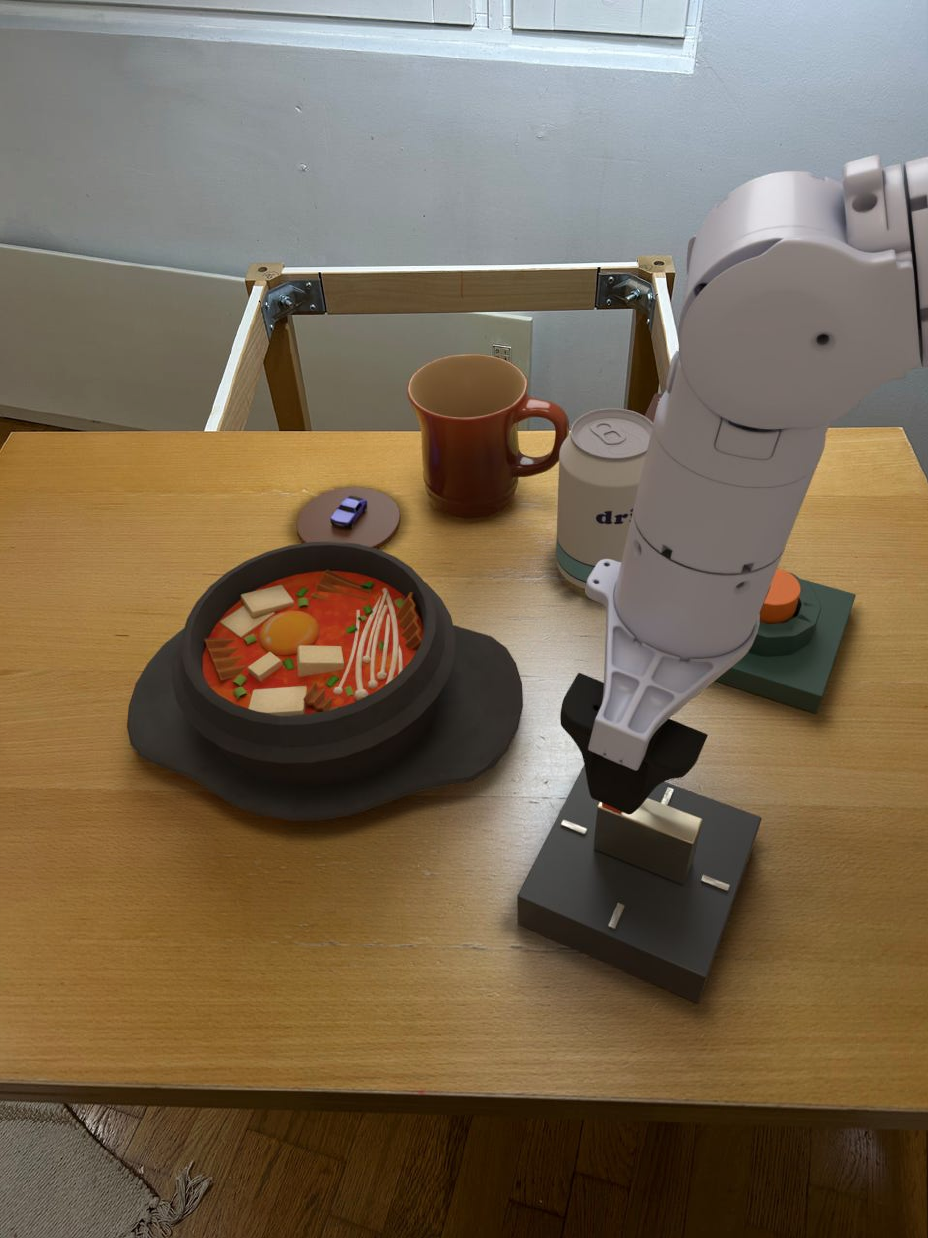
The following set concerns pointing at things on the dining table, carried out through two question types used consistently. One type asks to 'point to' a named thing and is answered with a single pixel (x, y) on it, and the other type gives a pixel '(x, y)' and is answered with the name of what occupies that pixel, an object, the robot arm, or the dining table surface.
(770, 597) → the button
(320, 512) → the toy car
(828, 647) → the button base
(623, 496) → the beverage can
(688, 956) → the dial panel
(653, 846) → the dial
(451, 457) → the mug
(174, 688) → the casserole
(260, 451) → the dining table surface
